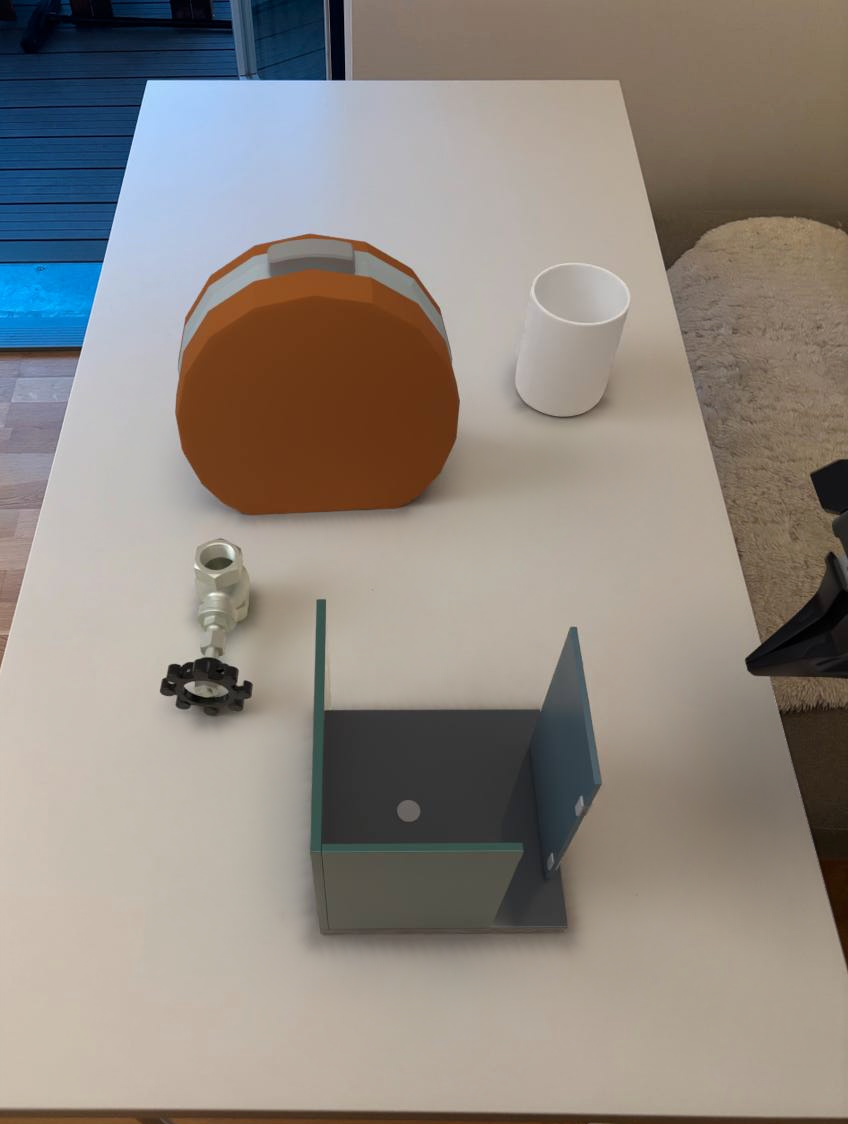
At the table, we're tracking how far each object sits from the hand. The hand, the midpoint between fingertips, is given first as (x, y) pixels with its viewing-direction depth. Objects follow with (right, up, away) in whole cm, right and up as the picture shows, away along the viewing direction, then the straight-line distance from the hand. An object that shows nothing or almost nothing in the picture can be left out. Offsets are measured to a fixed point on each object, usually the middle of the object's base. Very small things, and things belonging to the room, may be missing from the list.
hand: (748, 667), depth 55 cm
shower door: (-11, -10, +8) cm, 16 cm away
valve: (-34, +1, +17) cm, 38 cm away
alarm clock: (-27, +17, +27) cm, 42 cm away
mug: (-5, +27, +34) cm, 44 cm away
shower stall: (-18, -11, +9) cm, 23 cm away
